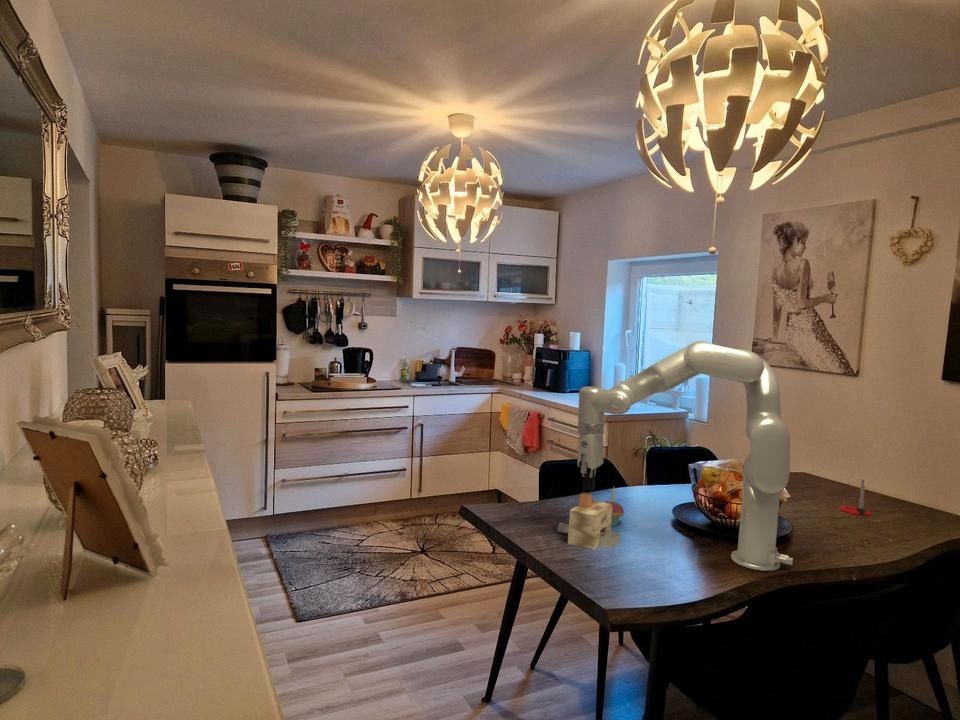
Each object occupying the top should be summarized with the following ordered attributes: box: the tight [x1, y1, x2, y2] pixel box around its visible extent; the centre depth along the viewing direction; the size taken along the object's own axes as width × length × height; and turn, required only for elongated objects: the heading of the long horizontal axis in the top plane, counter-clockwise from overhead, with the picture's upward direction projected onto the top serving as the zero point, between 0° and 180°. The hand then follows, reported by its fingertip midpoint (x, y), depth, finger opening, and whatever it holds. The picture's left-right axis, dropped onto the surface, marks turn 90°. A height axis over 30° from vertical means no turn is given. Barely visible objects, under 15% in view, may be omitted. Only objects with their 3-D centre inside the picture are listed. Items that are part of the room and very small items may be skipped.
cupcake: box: [604, 486, 625, 527], centre depth 202 cm, size 9×8×12 cm
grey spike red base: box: [839, 479, 872, 517], centre depth 230 cm, size 8×13×9 cm
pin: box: [557, 522, 621, 550], centre depth 187 cm, size 18×6×3 cm, turn 59°
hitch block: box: [567, 499, 612, 551], centre depth 186 cm, size 8×14×10 cm, turn 149°
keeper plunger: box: [578, 491, 593, 508], centre depth 187 cm, size 3×3×7 cm
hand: (588, 489), depth 186 cm, fingers closed
